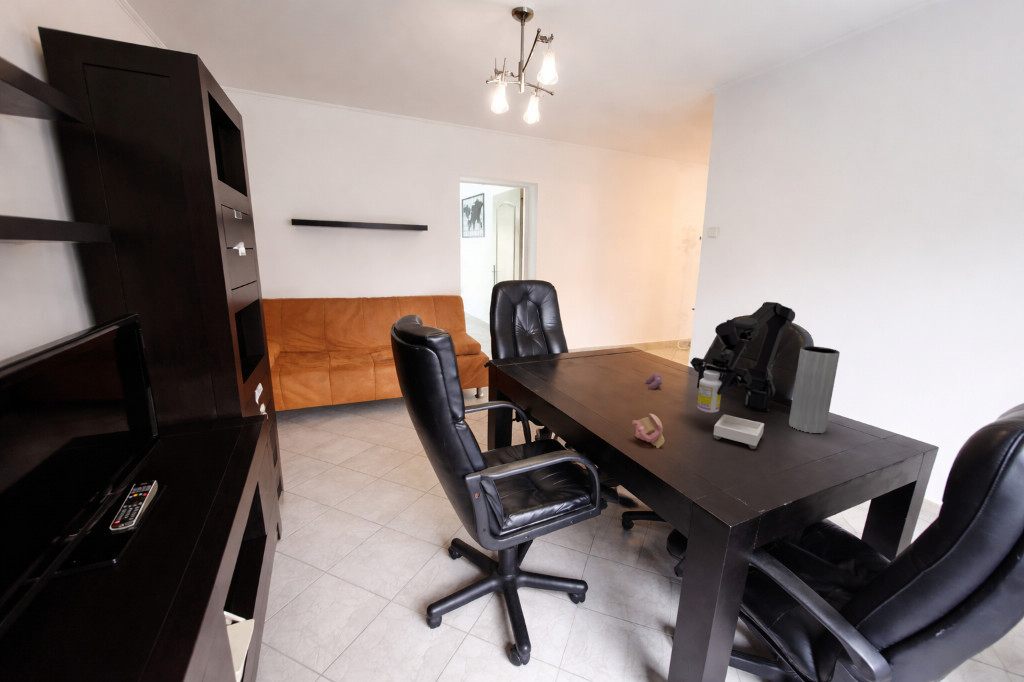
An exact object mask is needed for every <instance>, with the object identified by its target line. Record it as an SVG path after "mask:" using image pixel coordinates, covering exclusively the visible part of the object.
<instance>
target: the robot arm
mask: <svg viewBox="0 0 1024 682" xmlns="http://www.w3.org/2000/svg"><path fill="white" fill-rule="evenodd" d="M795 318H796V312H795V310H794V309H793V308H791V307H788V306H784V305H782V304H781V303H779V302H777V301H776V302H773V301H766V302H763V303H762V305H761V306H760V307H759V308H758V309H757V310H755V311H754V312H753V313H751V314H750V315H749V316H748V317H747V318H743V319H739V320H737V321H734V319H726V321H725V322H721V323H719V324H718V325H717V326H716V327H715V328H714V329H715V333H716V335H717V338H718V339H719V341H720V343H721V344H722V345H723V347H722V348H721V349H717V348H712V347H709V348H708V351H707V354H706V358H708V359H710V360H709V361H710V363H708V362H707V361H706V359H704V358H700V357H692V358H691V360H690V364H691V366H692V368H693V369H694V371H695V372H696V373H698V379H697V383H696V384H697V385H696V388H697V389H698V390H699V383H700V380H701V379H702V378H704V371H706V370H711V371H717V372H719V373H720V374H723V375H725V378H724V380H723V382H722V385H721V387H720V388H719V390H718V392H717V394H718V395H720V394H721V395H722V394H724V393H725V392H727V391H729V390H730V389H732V388H735V387H737V386H742V385H743V387H744V391H747V394H746V398H745V403H744V405H746V407H747V408H748V410H749V411H750V410H751V411H760V412H770V409H769V403H770V397H774V395H775V393H776V388H775V387H776V386H775V385H774V382H773V379H774V377H773V373H772V371H771V368H772V365H773V362H774V360H775V357H776V353H777V350H778V348H779V344H780V341H781V338H782V336H783V333H784V332H785V331H787V330H788V329H790V327H791V325H792V323H793V322H794V321H795ZM764 324H766V327H767V330H766V333H765V337H764V340H763V342H762V345H761V347H760V351H759V354H758V358H757V361H756V362H755V365H754V366H753V367H749V368H748V369H747V368H742V367H738V366H737V365H738V364H739V361H738V360H739V358H740V357H741V354H742V353H743V352H747V347H746V346H747V344H746V343H745V341H747V342H752V341H754V340H755V339H756V338H757V337H758V335H759V329H760V328H761V327H762V326H763V325H764ZM735 365H736V367H735Z"/></svg>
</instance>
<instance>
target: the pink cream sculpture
mask: <svg viewBox="0 0 1024 682" xmlns="http://www.w3.org/2000/svg"><path fill="white" fill-rule="evenodd" d="M631 423H632V425H633V426H634V428H635V437H637V438H638V439H640V440H642V441H646V443H650V444H652V445H653V446H654V447H655V446H656V447H655V448H657V449H659V448H660V447H661V446H662V445H663V444H664V443H665V441H666V440H665V438H664V436H663V429H664V427H663V424H662V421H661V420H660V418H659V417H658V416H657V415H656V414H653V413H648V416H647V417H642V418H640V419H637V420H636V419H633V420H632V421H631ZM637 438H636V439H637Z"/></svg>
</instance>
